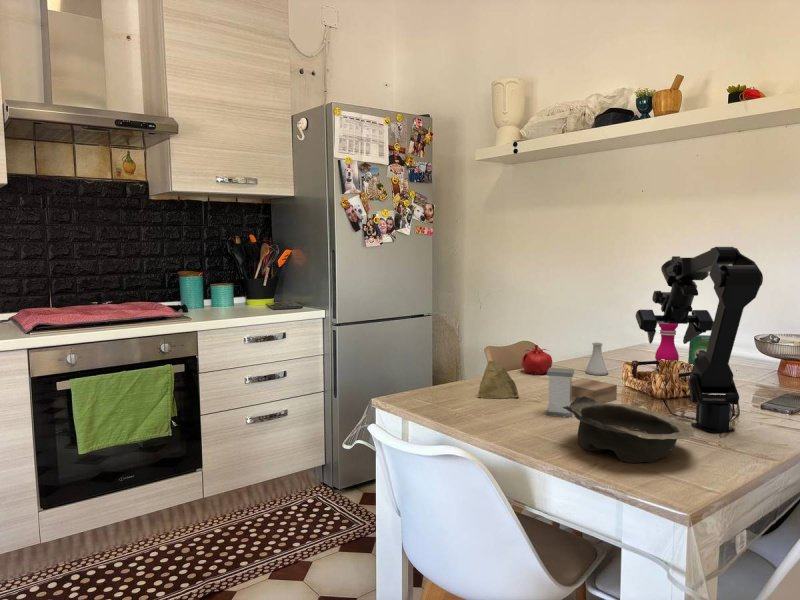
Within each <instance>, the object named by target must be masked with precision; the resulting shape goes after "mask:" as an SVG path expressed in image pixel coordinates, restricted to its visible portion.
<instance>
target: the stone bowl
mask: <svg viewBox="0 0 800 600" xmlns="http://www.w3.org/2000/svg"><path fill="white" fill-rule="evenodd" d="M563 408H564V409H567V410H568V411H570V412H571V413H573V414H572V415H573V416H574V418H575V419H576V420H578V421H579V423H578V424H579V425H578V429H577V435H576V436H577V437H576V438H577V443H578V446H580V447H581V448H582V449H584V450H587V451H588V450H589V451H595V452H596V451H602V450H611V451H613V452H614V453H615V455H616V456H617V458H618V459H619V460H620V461H622V462H627V463H630V464H637V463H641V462H644V463H647V464H649V463H653V462H656V461H657V460H658V459H663V458H664V459H665V458H667V457H668V455H669V454H670V452H671V451H672V450H673V448H674V447H675V445H676V444H677V441H678V440H685V439H689V438H693V437H694V438H695V435H694V434H695V430H694V428H693V427H692V425H690V424H689V423H687V422H684V421H680V420H678V418H675V417H673V416H671V415H667V414H664V413H660V412H657V411H654V410H650V409H646V408H645V407H639V406H634V405H630V404H622V403H611V402H610V403H609V402H606V403H599V402H597V401H595V400H593V399H592V398H587V397H585V396H584V397H581V398H576V399H575V401H574V400H572V401H571V404H570V406H569V407H568V406H566V407H563Z"/></svg>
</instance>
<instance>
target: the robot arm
mask: <svg viewBox="0 0 800 600" xmlns="http://www.w3.org/2000/svg"><path fill="white" fill-rule="evenodd" d="M660 268H661V269H660V270H661V273H662V276H663V277H664V280H665V282H666V283H667V286H668V287H671V289H670V291H667V292H666V291H661V290H654V291H653V294H652V300H651V301H652V302H653V303H654V304H659V305H660V306H661V308H660V311H661V313H663V315H660V314H659V315H657V314H656V315H655V313H654V311H653V309H638V310H637V311H636V312H635V319H636V322H637V324H638V327H639V330H642V331H644V332H646V333H647V340H648V343H649V344H652V343H653V341H654V339H655V336H656V333H657V325H659V324H678V325H680V324H681V325H682V324H683V325H688V326H687V328H686V331H685V333H684V335H683V339H682V343H683V345H686V344H688V343H690V340H692V339H693V338H695V337H696V336H698V335H702V334H703V333H704V334H705V333H707V332H710V334H709V335H710V339H709V343H708V347H707V350H706V354H705V356H704V357H697V358H696V359H695V360H694V366H693V369H692V373H691V374H690V375H689V378H688V385H689V394H690V399H691V402H692V403H697V404H696V411H695V412H696V414H695V422H691V425H690V426H691V427H692V426H693V427H695V428H698V429H700V430H703V431H706V432H709V433H710V434H711V433H712V434H717V433H718V434H719V433H727V432H733V431H735V429H736V428H734V427H732V426H730V420H731V417H730V416H731V405H737V406H738V405H739V402H740V401H739V400H740V395H739V392H738V390H737V387H736V384H735V380H734V372H733V371H732V369H731V367H730V364H729V363H730V359H731V354H732V352H733V347H734V346H735V345H734V344H735V340H736V338H737V334H738V330H739V326H740V323H741V319H742V316H743V312H744V309H745V307H747V306H748V305H749V304H750V303H751V302H752V301H754V300H755V298H757V296H758V293H759V291H760V288H761V286H762V284H763V282H764V278H763V277H764V275H763V273H762V271H761V269H760V268H759V266H758V265H757V264H756V262H755V261H754V260H752V259H750V258H749V257H747V256H745V255H744V254H742V253H741V251H740V250H739V249H738V248H737V247H734V246H714V247H711V248H710V249H709V250H707V251H705V252H703V253H700V254H699V255H698V254H697V255H696V256H694V257H693V256H692V257H681V256H679V255H678V256H677V255H676V256H672V255H671V259H669V260H667V261H665V262H664V263H663V264H662V265H661V267H660ZM708 277H710V278H711V280H712V283H713V290H714V292H715V294H716V296H717V298H718V303H717V307H716V311H715V315H714V319H713V317H712V316H711V314H710V312H709V310H708V309H693V307H692V304H693V301H694V298H695V297H697V296H699V291H698V285H697V284H696V282H695V281H704V280H706V278H708ZM689 313H690V314H689Z"/></svg>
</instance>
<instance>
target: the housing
mask: <svg viewBox="0 0 800 600" xmlns="http://www.w3.org/2000/svg"><path fill="white" fill-rule="evenodd" d="M574 375H575V369H573V368H561V367H551V368H549V369H548V371H547V373H546V376H548V407H547V410H546V412H545V413H546V414H545V415H546V416H549V415H556V416H555V417H559V416H565V417H564V418H569V417H571V418H572V417H573V415H574V414H573V413H571V412H570V411H568V410H567V409H564V408H563V407H566V406H568V407H569V406H570V404H571V403H572V400H571V397H572V381H573V377H574Z"/></svg>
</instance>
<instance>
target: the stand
mask: <svg viewBox="0 0 800 600" xmlns="http://www.w3.org/2000/svg"><path fill="white" fill-rule="evenodd" d="M617 390H618V385H617V384H614V383H608V382H603V381H600V380H599V381H598V380H594V379H589V378H582V379H578V380H572V397H571V401H575V399H576V398H581V397H584V396H585V397H587V398H592V399H593V400H595V401H597V402H599V403H602V404H604V403H609V402H613V401H616V400H617Z"/></svg>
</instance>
